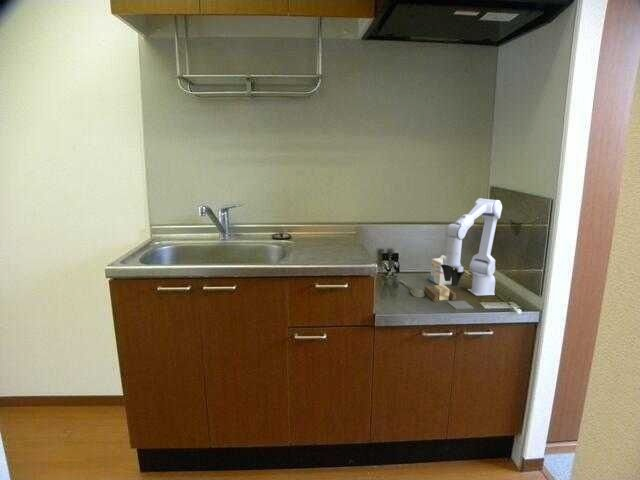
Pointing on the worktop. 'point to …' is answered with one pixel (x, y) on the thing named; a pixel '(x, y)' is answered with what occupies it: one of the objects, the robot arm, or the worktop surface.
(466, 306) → the gray mat
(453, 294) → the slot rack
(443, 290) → the maple block
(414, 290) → the soupspoon
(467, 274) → the worktop surface
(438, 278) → the ink box
